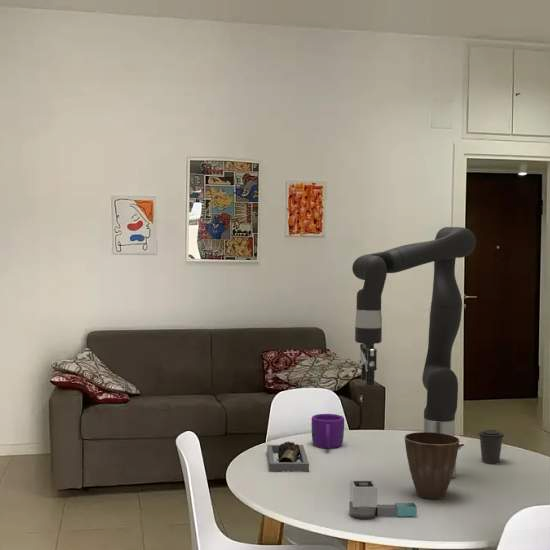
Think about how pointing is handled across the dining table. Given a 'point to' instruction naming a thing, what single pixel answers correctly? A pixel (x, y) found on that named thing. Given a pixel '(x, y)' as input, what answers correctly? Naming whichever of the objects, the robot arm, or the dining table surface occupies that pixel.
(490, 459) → the coffee cup
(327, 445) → the mug
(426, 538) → the dining table surface
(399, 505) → the ratchet
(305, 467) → the gray rectangular tray
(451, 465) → the plant pot
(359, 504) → the square metal tube
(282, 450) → the rough wooden branch
